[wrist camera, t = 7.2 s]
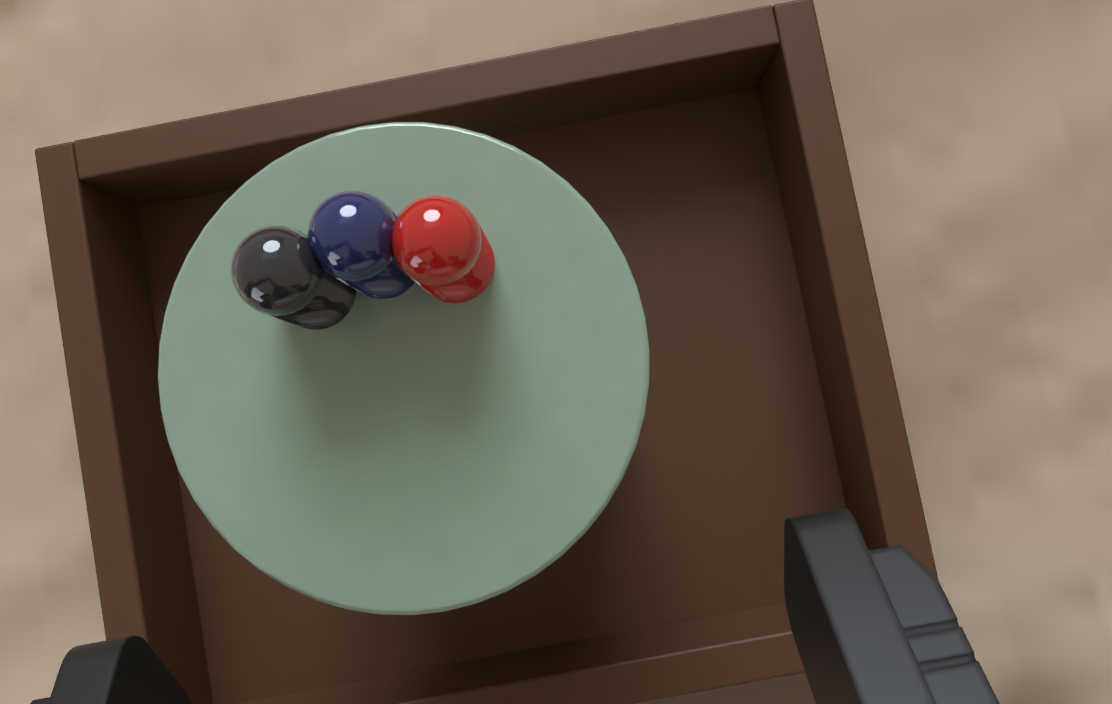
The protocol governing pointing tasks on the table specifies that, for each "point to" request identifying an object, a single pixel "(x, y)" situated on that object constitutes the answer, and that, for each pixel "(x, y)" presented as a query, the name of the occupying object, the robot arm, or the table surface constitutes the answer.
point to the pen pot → (404, 368)
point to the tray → (673, 400)
